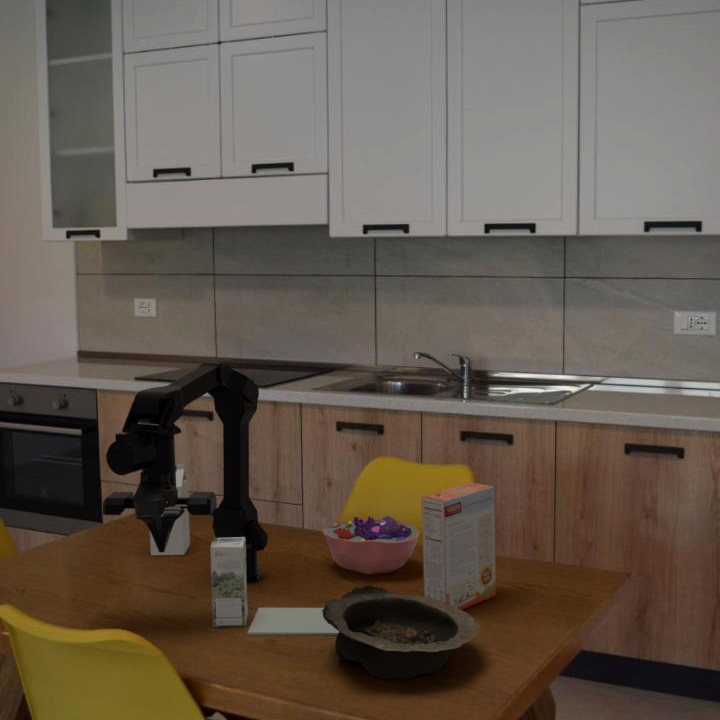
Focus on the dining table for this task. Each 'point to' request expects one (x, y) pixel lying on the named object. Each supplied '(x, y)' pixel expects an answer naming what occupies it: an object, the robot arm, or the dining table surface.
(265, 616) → the mat
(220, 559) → the syrup box
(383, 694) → the dining table surface
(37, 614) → the dining table surface
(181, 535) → the milk carton
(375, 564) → the cell model
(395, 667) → the stone bowl
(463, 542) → the cracker box
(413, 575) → the dining table surface
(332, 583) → the dining table surface
